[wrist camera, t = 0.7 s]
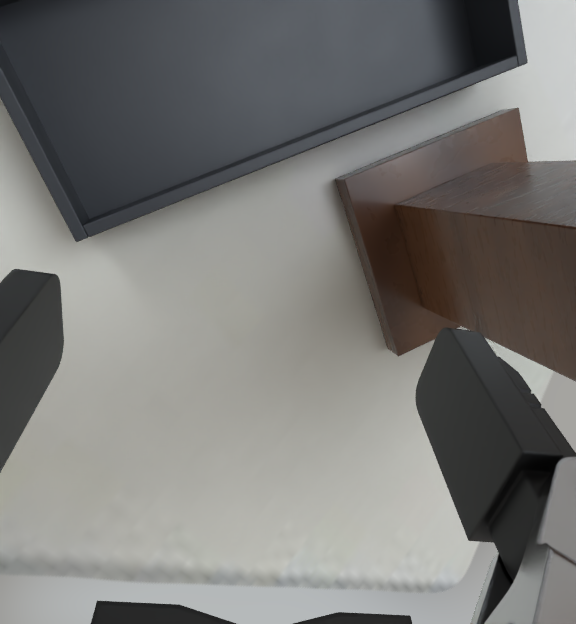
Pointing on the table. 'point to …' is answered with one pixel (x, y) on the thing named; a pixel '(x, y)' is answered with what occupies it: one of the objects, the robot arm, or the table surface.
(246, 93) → the pan
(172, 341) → the table surface
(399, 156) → the shelf stand
